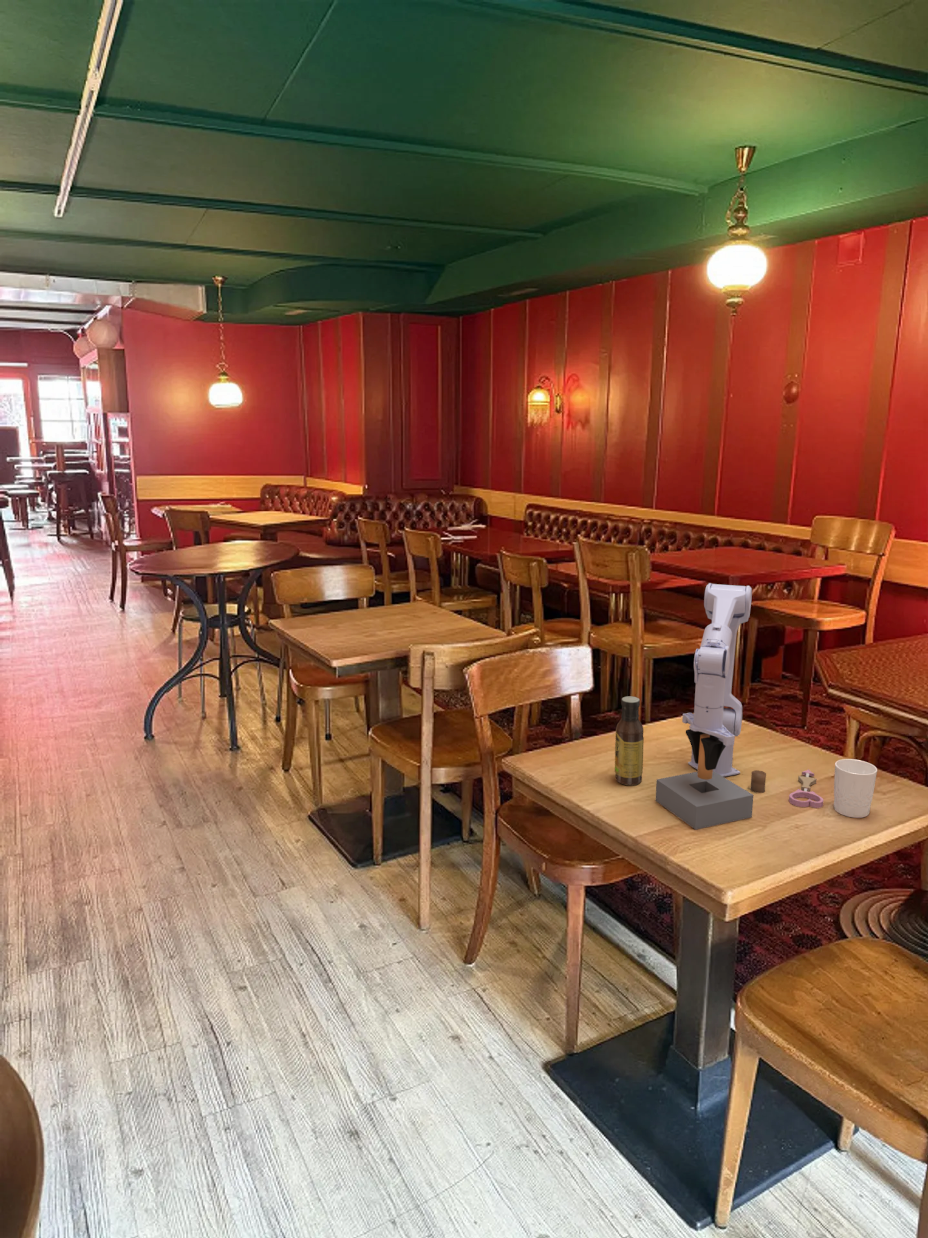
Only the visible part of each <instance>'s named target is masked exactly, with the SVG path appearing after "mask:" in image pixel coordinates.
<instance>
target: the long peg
mask: <svg viewBox="0 0 928 1238" xmlns="http://www.w3.org/2000/svg"><path fill="white" fill-rule="evenodd" d="M707 737H709V738H710V735H709V734H701V735H700V746H699V760H698V770H697V772H698V773H697V776H698V777H699V778H701V779H705V780H708V779H712V773H713V770H706V768H705V753H704V748H703V744H702V742H701V738H707Z"/></svg>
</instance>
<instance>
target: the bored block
mask: <svg viewBox="0 0 928 1238" xmlns="http://www.w3.org/2000/svg"><path fill="white" fill-rule="evenodd" d="M697 773H698V771H693V772H688V773H683V774H677V775H673V776H672V775H671V776H668V777H663V778H656V780H655V781H656V782H655V802H657V803H658V804H659V805H660V806H662V807H663V808H665V809H666V810H668V811H669V812H671V813H672V814H673V815H674V816H676V817H677V818H678V819H680V820H681V821H683V822H684V823H685V824H687V825H688V826H690V827H691V828H692V829H694V830H701V829H704V828H708V827H714V826H718V825H723V824H727V823H732V822H738V821H742V820H745V819H751V818H753V807H754V794H752V793H751V792H750V791H748V790H746V789H744V788H743V787H741V786H739V785H738V784H736V783H734V782H733V781H731V780H729V779H727V778H726V777H723V776H721V775H719V774H718V773H716V772H714V771H713V773H712V779H708V780H705V779H701V778H699V777H698V776H697Z"/></svg>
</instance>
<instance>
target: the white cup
mask: <svg viewBox="0 0 928 1238" xmlns="http://www.w3.org/2000/svg"><path fill="white" fill-rule="evenodd" d="M877 774H878V768H877V767H876V766H875V765H874V764H872V763H870V762H867V761H864V760H859V759H856V758H855V759H854V758H843V759H838V760H837V761H835V763H834V778H833V779H834V781H833V796H834V797H833V809H834V811H835V812H837V813H838V814H841V815H842V816H845V817H850V818H853V819H854V818H857V819H860V818H867V817H868V816H869V815H870V811H871V804H872V802H873V796H874V791H875V784H876V779H877Z"/></svg>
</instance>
